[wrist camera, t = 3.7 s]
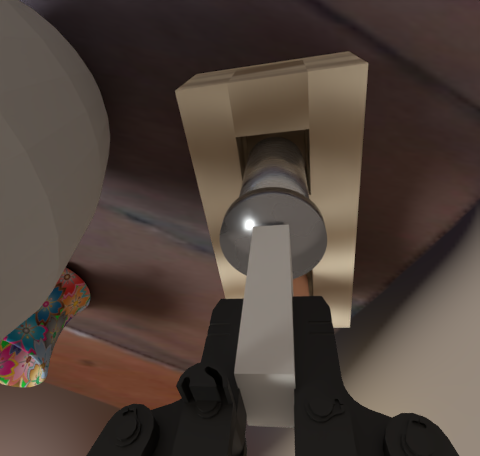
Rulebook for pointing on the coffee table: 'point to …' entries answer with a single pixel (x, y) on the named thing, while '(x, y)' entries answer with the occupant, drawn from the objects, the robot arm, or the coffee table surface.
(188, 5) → the coffee table surface
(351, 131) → the block
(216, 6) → the coffee table surface
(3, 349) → the mug
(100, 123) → the vase
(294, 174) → the grey plug
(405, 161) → the coffee table surface
